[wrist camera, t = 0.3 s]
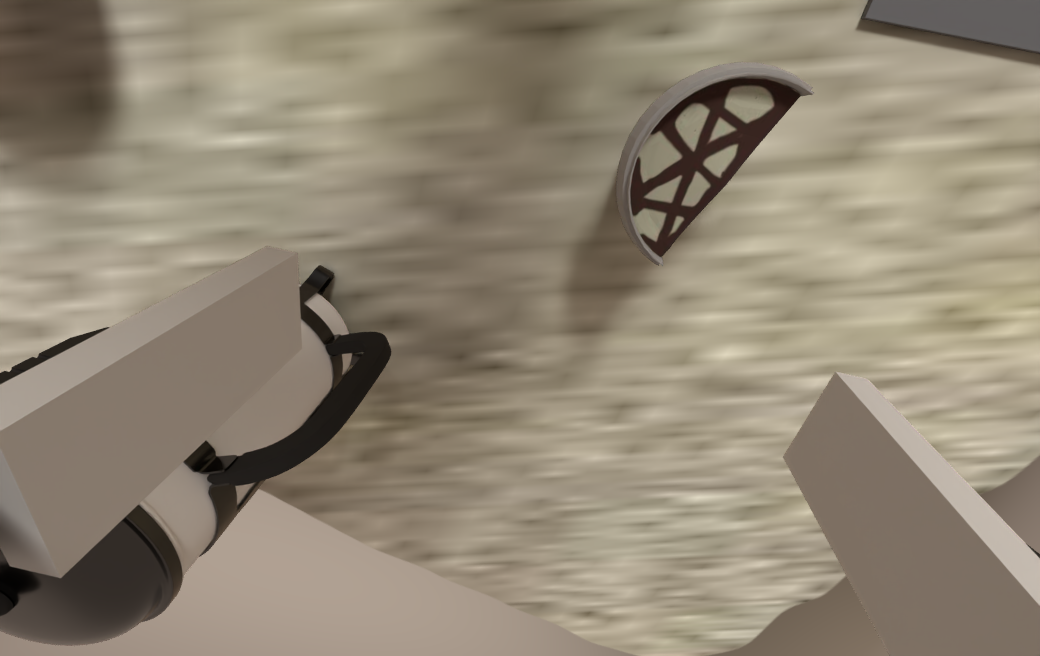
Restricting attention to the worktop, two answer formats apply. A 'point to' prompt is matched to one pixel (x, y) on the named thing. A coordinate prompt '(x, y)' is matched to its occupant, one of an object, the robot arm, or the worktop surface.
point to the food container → (696, 146)
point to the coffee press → (202, 489)
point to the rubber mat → (966, 19)
